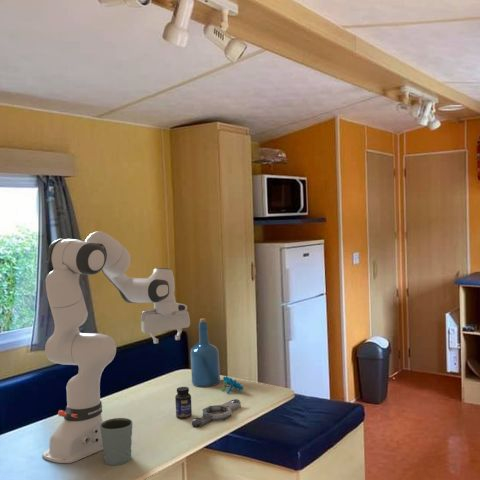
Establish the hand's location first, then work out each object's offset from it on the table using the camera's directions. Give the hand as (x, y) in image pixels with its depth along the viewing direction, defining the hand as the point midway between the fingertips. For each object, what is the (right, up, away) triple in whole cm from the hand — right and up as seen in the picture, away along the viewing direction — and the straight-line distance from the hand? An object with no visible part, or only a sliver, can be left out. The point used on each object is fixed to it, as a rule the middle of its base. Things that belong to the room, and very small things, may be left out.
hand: (166, 341), depth 228 cm
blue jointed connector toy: (+26, -25, +17) cm, 41 cm away
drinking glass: (-10, -30, -46) cm, 56 cm away
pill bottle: (+8, -28, -10) cm, 30 cm away
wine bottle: (+14, -25, +32) cm, 43 cm away
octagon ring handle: (+21, -27, -11) cm, 36 cm away
